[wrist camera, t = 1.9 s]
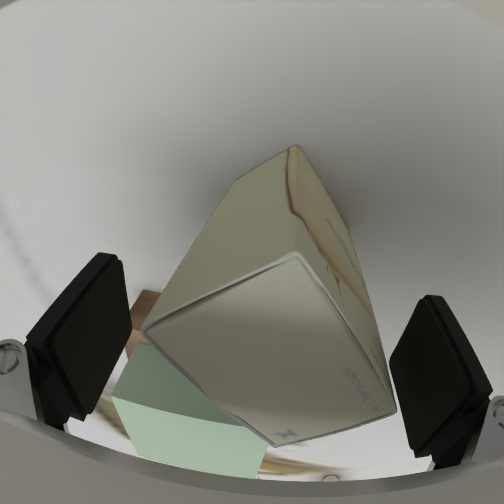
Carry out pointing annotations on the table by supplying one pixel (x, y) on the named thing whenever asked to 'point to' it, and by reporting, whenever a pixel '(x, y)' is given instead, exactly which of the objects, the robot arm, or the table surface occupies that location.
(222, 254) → the skincare box
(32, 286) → the table surface
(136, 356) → the tower top block
